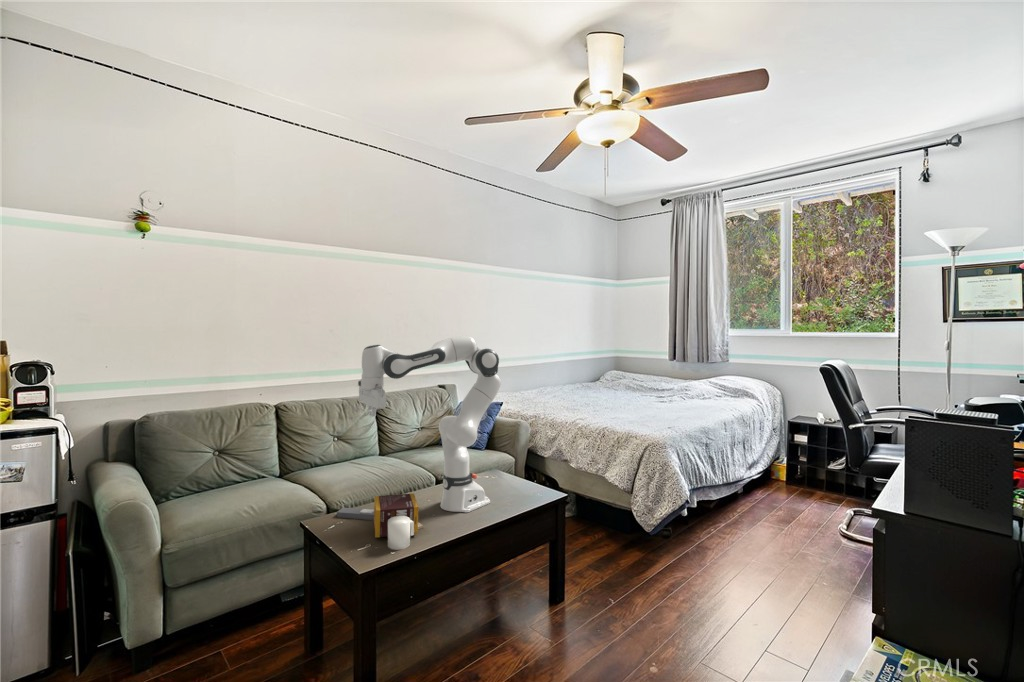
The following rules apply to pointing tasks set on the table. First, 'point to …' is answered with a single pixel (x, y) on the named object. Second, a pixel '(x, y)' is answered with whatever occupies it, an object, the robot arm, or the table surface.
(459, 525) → the table surface
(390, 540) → the white mug
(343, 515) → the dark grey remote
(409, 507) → the supplement box
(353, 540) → the table surface
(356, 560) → the table surface
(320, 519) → the table surface
